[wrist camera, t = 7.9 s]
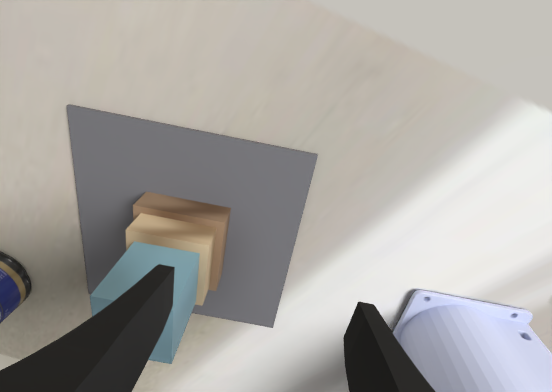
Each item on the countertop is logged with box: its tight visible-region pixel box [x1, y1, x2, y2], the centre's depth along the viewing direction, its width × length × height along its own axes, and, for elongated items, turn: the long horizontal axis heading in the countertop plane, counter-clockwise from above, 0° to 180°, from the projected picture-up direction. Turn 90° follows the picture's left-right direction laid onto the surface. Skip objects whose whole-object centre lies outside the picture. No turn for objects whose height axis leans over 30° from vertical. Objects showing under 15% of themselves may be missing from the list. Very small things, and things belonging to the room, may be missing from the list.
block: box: [90, 241, 200, 364], centre depth 18 cm, size 4×4×4 cm
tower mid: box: [126, 213, 217, 306], centre depth 21 cm, size 5×5×2 cm
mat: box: [67, 105, 318, 328], centre depth 23 cm, size 16×16×1 cm
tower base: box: [133, 192, 231, 291], centre depth 22 cm, size 6×6×2 cm
